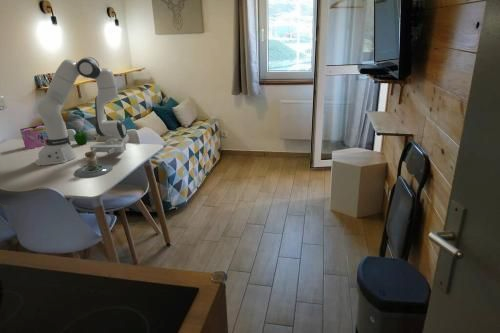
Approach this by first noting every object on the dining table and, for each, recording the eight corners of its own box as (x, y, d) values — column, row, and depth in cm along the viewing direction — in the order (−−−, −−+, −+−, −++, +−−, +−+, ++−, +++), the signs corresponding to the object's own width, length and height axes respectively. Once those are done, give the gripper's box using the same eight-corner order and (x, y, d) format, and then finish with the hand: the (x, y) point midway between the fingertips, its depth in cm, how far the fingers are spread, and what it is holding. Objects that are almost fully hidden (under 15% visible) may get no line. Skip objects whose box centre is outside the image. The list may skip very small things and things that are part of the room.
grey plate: (75, 180, 188) (74, 177, 187) (74, 168, 204) (73, 165, 204) (114, 173, 196) (113, 170, 195) (110, 162, 212) (110, 159, 212)
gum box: (60, 139, 263) (55, 121, 258) (64, 141, 257) (60, 123, 252) (24, 147, 246) (19, 128, 241) (28, 149, 241) (23, 130, 236)
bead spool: (88, 172, 196) (84, 155, 192) (88, 168, 201) (84, 152, 197) (99, 170, 198) (95, 153, 195) (98, 166, 203) (95, 150, 199)
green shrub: (86, 145, 246) (83, 131, 242) (74, 146, 245) (71, 132, 242) (90, 141, 254) (87, 128, 250) (78, 142, 253) (75, 129, 250)
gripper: (96, 139, 220) (83, 146, 207) (126, 140, 217) (115, 147, 204) (98, 149, 222) (85, 156, 209) (128, 149, 219) (117, 157, 207)
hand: (101, 152), depth 207 cm, fingers open, 8 cm apart
